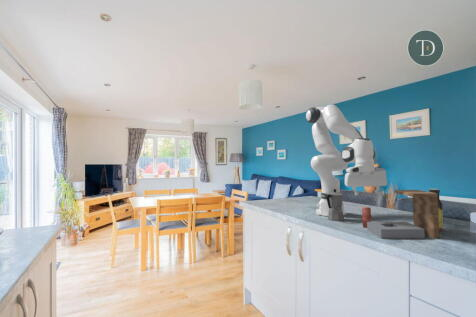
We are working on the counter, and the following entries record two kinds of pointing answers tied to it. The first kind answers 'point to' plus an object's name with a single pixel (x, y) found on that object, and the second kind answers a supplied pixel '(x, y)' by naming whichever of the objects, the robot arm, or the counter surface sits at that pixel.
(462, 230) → the counter surface
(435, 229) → the wooden overhang shelf
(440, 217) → the sauce bottle
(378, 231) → the socket block
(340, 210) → the coffeepot
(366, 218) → the peg
